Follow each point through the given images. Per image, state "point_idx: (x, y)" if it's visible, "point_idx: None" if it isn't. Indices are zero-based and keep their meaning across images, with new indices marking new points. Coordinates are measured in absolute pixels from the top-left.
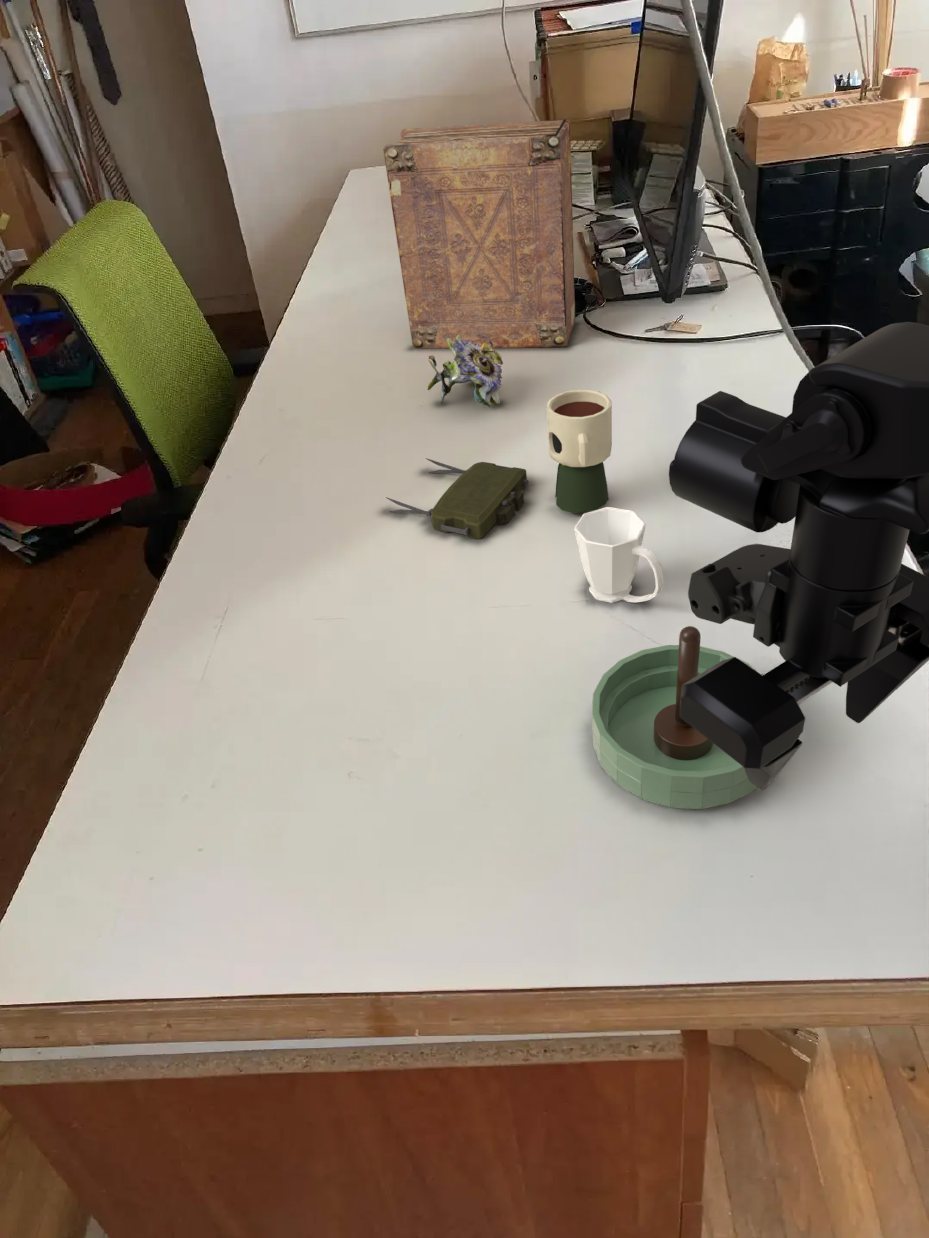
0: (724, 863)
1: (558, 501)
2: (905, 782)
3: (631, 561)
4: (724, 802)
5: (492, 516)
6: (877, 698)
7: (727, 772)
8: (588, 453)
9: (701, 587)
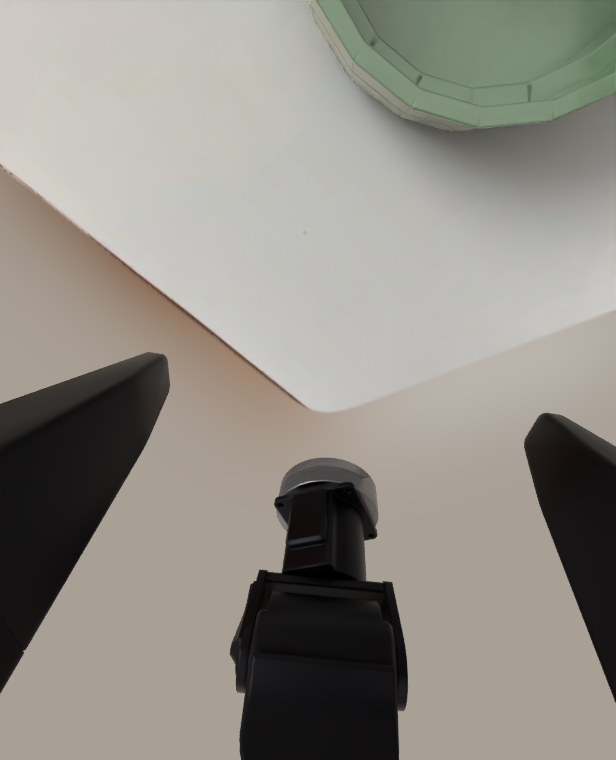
0: (295, 188)
1: None
2: (591, 301)
3: None
4: (387, 107)
5: None
6: (574, 575)
7: (397, 97)
8: None
9: None
